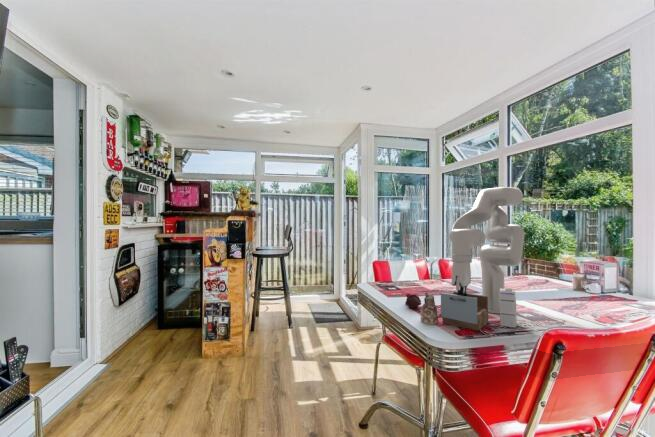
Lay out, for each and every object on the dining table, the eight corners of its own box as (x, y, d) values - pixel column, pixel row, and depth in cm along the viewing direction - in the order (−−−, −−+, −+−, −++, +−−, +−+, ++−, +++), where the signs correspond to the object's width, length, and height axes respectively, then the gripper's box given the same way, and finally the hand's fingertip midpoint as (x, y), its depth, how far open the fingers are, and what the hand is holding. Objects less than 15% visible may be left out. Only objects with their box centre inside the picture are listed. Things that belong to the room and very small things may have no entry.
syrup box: (516, 328, 118) (516, 292, 118) (499, 325, 121) (499, 290, 121) (516, 323, 123) (515, 289, 123) (500, 321, 126) (499, 287, 126)
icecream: (429, 298, 141) (414, 293, 155) (415, 295, 140) (401, 290, 154) (426, 312, 140) (411, 306, 154) (412, 309, 138) (399, 304, 153)
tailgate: (442, 315, 124) (441, 292, 125) (477, 323, 115) (477, 298, 115) (440, 317, 123) (439, 293, 123) (475, 324, 113) (475, 299, 113)
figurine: (424, 324, 123) (423, 295, 123) (418, 318, 130) (417, 291, 130) (440, 324, 123) (440, 295, 123) (433, 318, 130) (433, 291, 131)
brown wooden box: (454, 315, 135) (454, 291, 135) (488, 322, 125) (487, 296, 125) (442, 322, 125) (442, 297, 125) (477, 331, 115) (477, 303, 115)
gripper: (459, 256, 131) (459, 297, 131) (445, 259, 120) (446, 304, 120) (477, 257, 126) (477, 300, 125) (464, 261, 115) (465, 307, 115)
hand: (462, 302), depth 123 cm, fingers closed
